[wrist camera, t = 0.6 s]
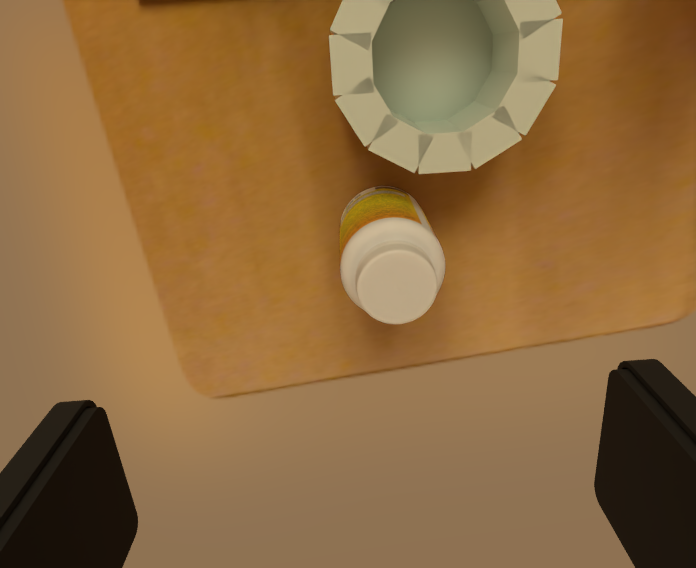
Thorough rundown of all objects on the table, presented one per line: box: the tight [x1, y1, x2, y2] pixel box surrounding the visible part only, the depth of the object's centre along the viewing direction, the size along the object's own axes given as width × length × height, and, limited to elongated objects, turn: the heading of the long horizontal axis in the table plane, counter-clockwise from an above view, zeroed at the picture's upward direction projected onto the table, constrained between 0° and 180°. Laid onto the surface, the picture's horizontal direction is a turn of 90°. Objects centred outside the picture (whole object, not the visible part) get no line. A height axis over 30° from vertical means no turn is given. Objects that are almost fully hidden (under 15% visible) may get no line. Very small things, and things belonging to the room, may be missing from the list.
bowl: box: [329, 0, 563, 174], centre depth 29 cm, size 11×11×6 cm
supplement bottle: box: [339, 186, 445, 324], centre depth 31 cm, size 6×6×10 cm
